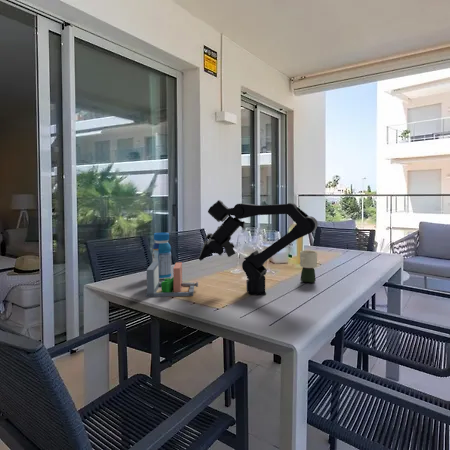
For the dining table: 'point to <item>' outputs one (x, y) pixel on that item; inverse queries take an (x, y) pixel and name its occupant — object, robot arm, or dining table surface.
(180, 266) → the sliding jaw
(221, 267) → the dining table surface
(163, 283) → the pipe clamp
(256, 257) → the robot arm
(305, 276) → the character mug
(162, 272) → the beverage bottle
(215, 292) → the dining table surface
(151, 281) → the vise body
